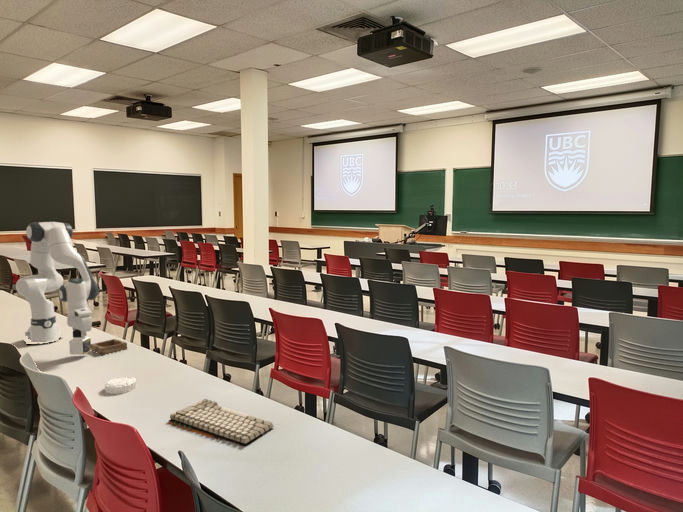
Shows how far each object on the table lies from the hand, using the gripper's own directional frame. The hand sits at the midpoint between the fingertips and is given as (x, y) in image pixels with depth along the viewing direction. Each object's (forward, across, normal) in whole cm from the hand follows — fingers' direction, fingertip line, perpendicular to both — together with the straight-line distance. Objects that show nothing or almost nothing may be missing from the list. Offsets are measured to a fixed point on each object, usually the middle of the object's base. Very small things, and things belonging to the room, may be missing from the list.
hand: (79, 337), depth 241 cm
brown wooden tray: (+10, 0, +14) cm, 18 cm away
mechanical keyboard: (+9, +119, -3) cm, 120 cm away
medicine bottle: (+8, 0, 0) cm, 8 cm away
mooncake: (+10, +59, -8) cm, 60 cm away
